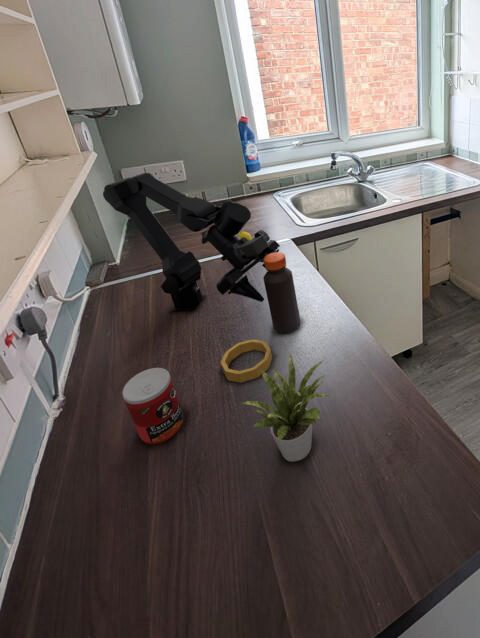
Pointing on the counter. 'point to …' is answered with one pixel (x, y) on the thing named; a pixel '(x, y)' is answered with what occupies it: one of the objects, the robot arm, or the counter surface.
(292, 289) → the vinegar
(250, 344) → the yellow flat ring
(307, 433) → the house plant
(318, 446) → the counter surface
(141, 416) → the canned food
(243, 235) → the lemon
